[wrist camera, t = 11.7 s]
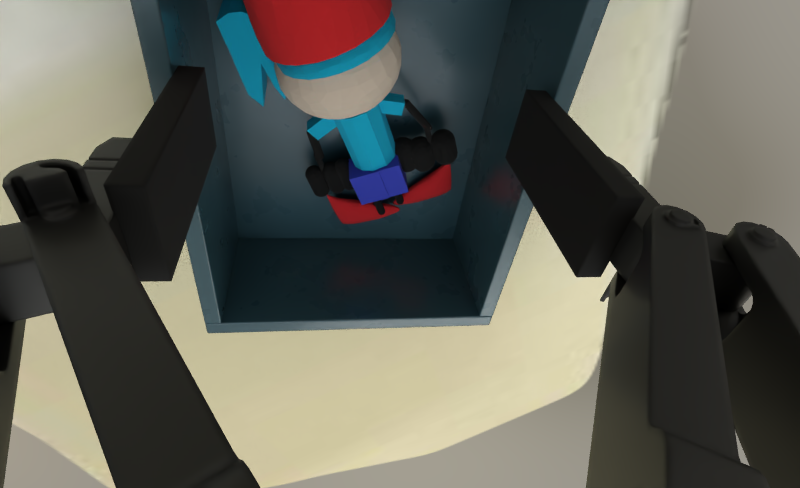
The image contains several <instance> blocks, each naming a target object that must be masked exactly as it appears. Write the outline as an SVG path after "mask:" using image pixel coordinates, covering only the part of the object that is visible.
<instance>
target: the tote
mask: <svg viewBox="0 0 800 488" xmlns="http://www.w3.org/2000/svg"><path fill="white" fill-rule="evenodd" d="M130 1H131V5H132V9H133V14H134V18H135V22H136V27H137V31H138V35H139V40H140V44H141V48H142V53H143V57H144V61H145V66H146V70H147V74H148V79H149V83H150V87H151V92H152V96H153V100H154V103H155V102H156V100H157V98H158V97H159V95H160V94H161V92H162V91H163V89H164V87H165V86H166V84H167V83H168V81H169V79H170V78H171V76H172V75H173V73H174V72H175V70H176V69H177V67H178V65H180V66H194V67H205V73H206V79H207V86H208V92H209V99H210V106H211V112H212V119H213V125H214V132H215V138H216V145H217V147H216V150H215V153H214V156H213V159H212V162H211V165H210V168H209V171H208V174H207V177H206V180H205V183H204V186H203V189H202V192H201V194H200V197H199V200H198V203H197V206H196V209H195V212H194V215H193V218H192V221H191V224H190V227H189V230H188V233H187V236H186V243H187V247H188V251H189V256H190V260H191V264H192V269H193V273H194V277H195V282H196V286H197V290H198V295H199V299H200V303H201V308H202V312H203V316H204V321H205V324H206V329H207V332H208V333H233V332H267V331H301V330H335V329H369V328H403V327H437V326H471V325H489V323H490V321H491V318H492V315H493V313H494V310H495V308H496V305H497V302H498V300H499V297H500V294H501V291H502V289H503V286H504V283H505V281H506V278H507V275H508V273H509V270H510V267H511V265H512V262H513V259H514V256H515V254H516V251H517V248H518V246H519V243H520V240H521V238H522V235H523V232H524V230H525V227H526V224H527V221H528V219H529V216H530V213H531V211H532V208H533V204H532V202H531V200H530V199H529V197H528V195H527V194H526V192H525V190H524V189H523V187H522V185H521V183H520V182H519V180H518V178H517V177H516V175H515V173H514V172H513V170H512V168H511V167H510V165H509V163H508V162H507V160H506V158H505V157H506V153H507V150H508V147H509V143H510V140H511V137H512V133H513V130H514V127H515V124H516V120H517V117H518V114H519V110H520V107H521V104H522V101H523V97H524V94H525V91H526V89H529V90H543V91H547V93H548V94H549V95H550V96H551V97H552V98H553V99H554V100H555V101H556V102H557V103H558V104H559V105H560V106H561V108H562V109H563V110H564V111H565V112H566V113H567V114H568V111H569V108H570V106H571V103H572V100H573V97H574V95H575V92H576V89H577V87H578V84H579V81H580V79H581V76H582V73H583V71H584V68H585V65H586V62H587V60H588V57H589V54H590V52H591V49H592V46H593V44H594V41H595V38H596V36H597V33H598V30H599V27H600V25H601V22H602V19H603V17H604V14H605V11H606V9H607V6H608V3H609V1H610V0H391V2H392V7H391V11H392V13H393V15H394V17H395V20H396V23H395V32H396V34H397V36H398V38H399V41H400V44H401V68H400V71H399V75H398V79H397V80H396V82H395V84H394V86H393V88H392V90H391V91H390V92H389V93H394V94H401V95H404V100H405V99H408V100H409V101H410V102H411V103H412V104H413V105H414V106H415V107H416V109H417V110H418V111H419V112H420V113H421V114H422V115H423V116H424V118H425V119H426V120H427V121H428V122H429V123H430V124H431V126H432V130H431V134H432V135H433V133H434V132H436V131H437V130H439V129H447V130H449V131H451V132H452V133H453V135H454V137H455V141H456V146H457V151H458V154H457V158H456V160H455V161H454V162H453V163H451V164H450V167H451V181H452V182H451V190H450V191H448V192H446V193H444V194H442V195H440V196H437V197H433V198H430V199H427V200H423V201H420V202H416V203H410V204H403V205H394V206H396V207H398V208H399V209H400V210H399V211H398V212H396V213H394V214H391V215H389V216H386V217H383V218H380V219H376V220H371V221H366V222H361V223H356V224H343V223H342V222H341V221H340V220H339V218H338V217H337V215H336V213H335V211H334V210H333V208H332V206H331V204H330V202H329V199H328V198H327V195H326V196H324V197H318V196H316V195H315V194H314V192H313V190H312V188H311V186H310V184H309V182H308V180H307V178H306V176H305V172H306V170H307V168H308V167H310V166H312V165H316V166H319V165H318V163H317V161H316V159H315V157H314V151H313V149H312V146H311V144H310V141H309V138H308V136H307V121H308V120H309V119H311V118H312V117H313V116H312V115H309V114H307V113H305V112H304V111H302V110H301V109H299V108H298V107H296V106H295V105H294V104H292V103H291V102H290V100H289V99H288V98H287V97H286V98H285V99H284V98H283V97H282V96H281V94H280V93H279V92H278V91H277V90H276V88H275V87H274V85H273V84H272V82H271V80H270V78H269V77H268V75H267V87H266V95H265V102H264V107H263V106H262V105H261V104H259V103H258V102H257V101H256V100H254V99H253V98H252V97H251V96H249V95H248V93H247V91H246V88H245V86H244V84H243V82H242V79H241V77H240V75H239V73H238V70H237V68H236V66H235V64H234V61H233V59H232V57H231V55H230V53H229V50H228V48H227V46H226V44H225V41H224V39H223V37H222V35H221V32H220V30H219V28H218V26H217V23H216V20H217V17H218V14H219V10H220V7H221V4H222V1H223V0H130ZM266 74H267V73H266ZM385 115H386V118H387V121H388V124H389V127H390V130H391V133H392V135H393V138H394V140H395V139H397V138H399V137H407V138H409V139H411V140H412V139H413V138H415V137H418V136H423V137H426V135H425V131H424V128H423V127H422V126H421V125H420V124H419V123H418V121H417V120H416V119H415V118H414V117H413V116H412V115H411V114H410V112H409V111H408V110H407V109H406V108H405V107H404V109H403V113H402V116H399V115H391V114H385ZM319 142H320V145H321V148H322V151H323V154H324V158H323V159H322V161H323V163H324V164H325V163H327V162H336V161H337V160H338V159H340V158H347V159H350V158H351V156H350V154H349V152H348V150H347V148H346V146H345V143H344V141H343V139H342V137H341V135H340V132H339V130H338V128H337V127H336V128H334V129H333V130H331V131H330V132H329V133H327V134H326V135H325V136H323V137H322V138H321V139H319ZM440 166H442V164H439V163H438V162H437V161H436V160H435V164H434V166H433V167H432V168H431V169H430V170H429V171H426V172H421V171H418V170H416V169H414V170H413V171H411V172H406V178H407V184H408V188H409V187H411V186H412V185H414V184H415V183H417V182H418V181H420V180H421V179H422V178H424V177H425V176H427V175H428V174H430V173H431V172H433V171H434V170H436V169H437V168H439V167H440ZM328 195H330V196H333V197H337V198H345V199H354V200H359V198H358V196H357V194H356V192H355V190H354V189H353V190H346V189H344V190H343V191H342V192H340V193H334V192H332V191H331V190H330V191H329V193H328ZM394 200H395V197H394V196H392V197H389V198H387V199H383V200H381V202H382V203H385V204H390V205H393V202H394Z"/></svg>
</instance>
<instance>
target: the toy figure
mask: <svg viewBox="0 0 800 488" xmlns="http://www.w3.org/2000/svg"><path fill="white" fill-rule="evenodd" d="M391 7H392V2H391V0H223V1H222V4H221V7H220V10H219V14H218V17H217V20H216V23H217V26H218V28H219V30H220V32H221V35H222V37H223V39H224V41H225V44H226V46H227V48H228V50H229V53H230V55H231V57H232V59H233V61H234V64H235V66H236V68H237V70H238V73H239V75H240V77H241V79H242V82H243V84H244V86H245V88H246V91H247V93H248V95H249V96H251V97H252V98H253V99H254V100H256V101H257V102H258V103H259V104H261V105H262V106H263V107H264V102H265V95H266V87H267V75H268V77H269V78H270V80H271V82H272V84H273V85H274V87H275V88H276V90H277V91H278V92H279V93H280V94H281V96H282V97H283V98H284V99H285V98H286V97H287V98H288V99H289V100H290V102H291V103H292V104H294V105H295V106H296V107H298V108H299V109H301V110H302V111H304V112H305V113H307V114H309V115H312V116H313V117H312V118H311V119H309V120H308V121H307V136H308V138H309V141H310V144H311V146H312V149H313V151H314V157H315V159H316V161H317V163H318V165H319V166H316V165H312V166H310V167H308V168H307V170H306V172H305V176H306V178H307V180H308V182H309V184H310V186H311V188H312V190H313V192H314V194H315V195H316V196H318V197H324V196H326V195H327V198H328V199H329V202H330V204H331V206H332V208H333V210H334V211H335V213H336V215H337V217H338V218H339V220H340V221H341V222H342V223H343V224H356V223H361V222H366V221H371V220H376V219H380V218H383V217H386V216H389V215H391V214H394V213H396V212H398V211H399V210H400V209H399V208H398V207H396V206H394V205H403V204H410V203H416V202H420V201H423V200H427V199H430V198H433V197H437V196H440V195H442V194H444V193H446V192H448V191H450V190H451V182H452V181H451V167H450V164H451V163H453V162H454V161H455V160H456V158H457V154H458V151H457V146H456V141H455V137H454V135H453V133H452V132H451V131H449V130H447V129H439V130H437V131H436V132H434V133H433V135H432V134H431V130H432V126H431V124H430V123H429V122H428V121H427V120H426V119H425V118H424V116H423V115H422V114H421V113H420V112H419V111H418V110H417V109H416V107H415V106H414V105H413V104H412V103H411V102H410V101H409V100H408V99H405V100H404V95H401V94H394V93H389V92H390V91H391V90H392V88H393V86H394V84H395V82H396V80H397V79H398V75H399V71H400V68H401V44H400V41H399V38H398V36H397V34H396V32H395V23H396V20H395V17H394V15H393V13H392V11H391ZM266 73H267V74H266ZM404 107H405V108H406V109H407V110H408V111H409V112H410V114H411V115H412V116H413V117H414V118H415V119H416V120H417V121H418V123H419V124H420V125H421V126H422V127H423V128H424V131H425V135H426V137H423V136H418V137H415V138H413V139H412V140H411V139H409V138H407V137H399V138H397V139H395V140H394V138H393V135H392V133H391V130H390V127H389V124H388V121H387V118H386V115H385V114H391V115H399V116H402V113H403V109H404ZM336 127H337V128H338V130H339V132H340V135H341V137H342V139H343V141H344V143H345V146H346V148H347V150H348V152H349V154H350V156H351V158H350V159H347V158H340V159H338V160H337V161H336V162H327V163H325V164H324V163H323V161H322V159H323V158H324V154H323V151H322V148H321V145H320V142H319V139H321V138H322V137H323V136H325V135H326V134H327V133H329V132H330V131H331V130H333V129H334V128H336ZM435 160H436V161H437V162H438V163H439V164H442V166H440V167H439V168H437V169H436V170H434V171H433V172H431V173H430V174H428V175H427V176H425V177H424V178H422V179H421V180H420V181H418V182H417V183H415V184H414V185H412V186H411V187H409V188H408V184H407V178H406V172H411V171H413V170H414V169H416V170H418V171H421V172H426V171H429V170H430V169H431V168H432V167H433V166H434V164H435ZM344 189H346V190H353V189H354V190H355V192H356V194H357V196H358V198H359V200H354V199H345V198H337V197H333V196H330V195H328V193H329V191H330V190H331V191H332V192H334V193H340V192H342V191H343V190H344ZM392 196H394V197H395V200H394V202H393V205H390V204H385V203H382V202H381V200H383V199H387V198H389V197H392Z"/></svg>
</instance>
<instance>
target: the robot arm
mask: <svg viewBox="0 0 800 488" xmlns="http://www.w3.org/2000/svg"><path fill="white" fill-rule="evenodd" d="M216 147H217V145H216V138H215V132H214V125H213V119H212V112H211V106H210V99H209V92H208V86H207V79H206V73H205V67H194V66H180V65H178V67H177V69H176V70H175V72H174V73H173V75H172V76H171V78H170V79H169V81H168V83H167V84H166V86H165V87H164V89H163V91H162V92H161V94H160V95H159V97H158V98H157V100H156V102H155V103H154V105H153V106H152V108H151V110H150V111H149V113H148V114H147V116H146V117H145V119H144V121H143V122H142V124H141V125H140V127H139V129H138V130H137V132H136V133H135V135H134V136H133V138H116V137H112V138H111V139H109V140H107V141H106V142H104V143H102V144H101V145H99V146H97V147H96V149H95V150H94V151H93V153H92V154H91V155H90V157H89V160H87V161H86V162H85V164H84V165H83V166H81V165H80V164H78V163H77V162H73V161H70V160H62V159H49V160H41V161H36V162H32V163H29V164H25V165H22V166H20V167H18V168H16V169H14V170H13V171H11V172H10V173H9V174H8V175H7V176H6V177H5V178H4V179H3V185H2V186H3V188H4V190H5V192H6V194H7V196H8V198H9V200H10V202H11V203H12V205H13V207H14V209H15V211H16V213H17V215H18V217H19V219H20V221H21V222H18V223H13V224H9V225H2V226H0V488H3V485H4V479H5V471H6V464H7V456H8V449H9V441H10V434H11V427H12V419H13V412H14V404H15V397H16V389H17V382H18V375H19V367H20V360H21V352H22V345H23V338H24V330H25V323H26V319H27V318H31V317H36V316H40V315H44V314H48V313H54V316H55V319H56V321H57V324H58V327H59V330H60V332H61V335H62V338H63V341H64V344H65V346H66V349H67V352H68V355H69V358H70V360H71V363H72V366H73V369H74V372H75V374H76V377H77V380H78V383H79V386H80V388H81V391H82V394H83V397H84V400H85V402H86V405H87V408H88V411H89V414H90V416H91V419H92V422H93V425H94V428H95V430H96V433H97V436H98V439H99V442H100V444H101V447H102V450H103V453H104V456H105V458H106V461H107V464H108V467H109V470H110V472H111V475H112V478H113V481H114V484H115V486H116V488H260V486H259V485H258V483H257V481H256V479H255V478H254V476H253V474H252V473H251V471H250V469H249V468H248V466H247V465H246V464H245V462H244V461H243V460H240V459H239V458H238V457H237V456H236V454H235V453H234V451H233V449H232V448H231V446H230V444H229V442H228V440H227V439H226V437H225V435H224V433H223V431H222V429H221V428H220V426H219V424H218V422H217V420H216V419H215V417H214V415H213V413H212V411H211V409H210V408H209V406H208V404H207V402H206V400H205V399H204V397H203V395H202V393H201V391H200V389H199V388H198V386H197V384H196V382H195V380H194V378H193V377H192V375H191V373H190V371H189V369H188V368H187V366H186V364H185V362H184V360H183V358H182V357H181V355H180V353H179V351H178V349H177V348H176V346H175V344H174V342H173V340H172V338H171V337H170V335H169V333H168V331H167V329H166V328H165V326H164V324H163V322H162V320H161V318H160V317H159V315H158V313H157V311H156V309H155V308H154V306H153V304H152V302H151V300H150V298H149V297H148V295H147V293H146V291H145V289H144V287H143V286H142V284H141V282H140V281H172V278H173V275H174V272H175V269H176V266H177V263H178V260H179V257H180V254H181V251H182V248H183V245H184V242H185V239H186V236H187V233H188V230H189V227H190V224H191V221H192V218H193V215H194V212H195V209H196V206H197V203H198V200H199V197H200V194H201V192H202V189H203V186H204V183H205V180H206V177H207V174H208V171H209V168H210V165H211V162H212V159H213V156H214V153H215V150H216ZM505 158H506V160H507V162H508V163H509V165H510V167H511V168H512V170H513V172H514V173H515V175H516V177H517V178H518V180H519V182H520V183H521V185H522V187H523V189H524V190H525V192H526V194H527V195H528V197H529V199H530V200H531V202H532V204H533V205H534V207H535V209H536V210H537V212H538V214H539V215H540V217H541V219H542V220H543V222H544V224H545V225H546V227H547V229H548V230H549V232H550V234H551V235H552V237H553V239H554V240H555V242H556V244H557V246H558V247H559V249H560V251H561V252H562V254H563V256H564V257H565V259H566V261H567V262H568V264H569V266H570V267H571V269H572V271H573V272H574V274H575V276H576V277H601V275H602V274H603V272H604V270H605V268H606V266H607V265H608V263H609V261H611V263H612V264H613V266H614V267H615V268H616V270H617V272H616V273H615V275H614V277H613V278H612V280H611V282H610V284H609V285H608V287H607V289H606V290H605V292H604V294H603V295H602V297H601V299H600V301H602V302H604V301H605V299H606V298H607V297H609V301H608V309H607V317H606V326H605V334H604V342H603V351H602V359H601V368H600V375H599V384H598V392H597V400H596V409H595V418H594V425H593V434H592V442H591V450H590V459H589V467H588V475H587V483H586V488H800V257H799V256H798V255H797V254H796V252H795V251H794V249H793V248H792V247H791V246H790V244H789V243H788V242H787V241H786V240H785V239H784V238H783V237H782V236H780V235H779V234H777V233H776V232H775V231H774V230H773V229H771V228H767V226H764V225H761V224H760V225H758V224H755V223H751V222H740V223H736V224H735V226H734V228H732V230H731V231H730V233H729V234H728V235H722V234H718V233H713V232H708V231H706V229H705V227H704V225H703V223H702V222H701V221H700V220H699V219H698V218H697V217H696V216H694V215H692V214H691V213H689V212H688V211H685V210H683V209H680V208H678V207H673V206H668V205H660V204H659V203H658V202H657V201H656V200H655V199H654V198H653V197H652V196H651V195H650V194H649V193H648V192H647V190H646V189H645V188H644V187H643V186H642V185H639V182H638V181H637V180H636V179H635V178H634V177H632V175H631V174H630V173H629V171H628V170H627V169H626V168H625V167H624V166H623V165H621V164H620V163H618V162H616V161H615V160H613V159H612V158H610V157H607V156H606V155H605V154H604V153H603V152H602V151H601V150H600V149H599V148H598V147H597V145H596V144H595V143H594V142H593V141H592V140H591V139H590V138H589V137H588V136H587V135H586V134H585V132H584V131H583V130H582V129H581V128H580V127H579V126H578V125H577V124H576V123H575V122H574V121H573V119H572V118H571V117H570V116H569V115H568V114H567V113H566V112H565V111H564V110H563V109H562V108H561V106H560V105H559V104H558V103H557V102H556V101H555V100H554V99H553V98H552V97H551V96H550V95H549V94H548V93H547V91H543V90H529V89H526V91H525V94H524V97H523V101H522V104H521V107H520V110H519V114H518V117H517V120H516V124H515V127H514V130H513V133H512V137H511V140H510V143H509V147H508V150H507V153H506V157H505ZM131 265H132V266H131ZM751 295H752V296H753V305H752V308H751V310H750V311H749V312H748V313H746V312H745V311H744V309H743V307H742V305H743V304H744V303H745V302H746V301H747V300H748V299H749V297H750V296H751ZM735 431H736V433H737V436H738V438H739V441H740V443H741V445H742V448H743V450H744V453H745V455H746V458H747V460H748V463H749V465H750V466H748V465H746V464H743V463H741V462H740V459H739V456H738V449H737V442H736V435H735Z"/></svg>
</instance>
